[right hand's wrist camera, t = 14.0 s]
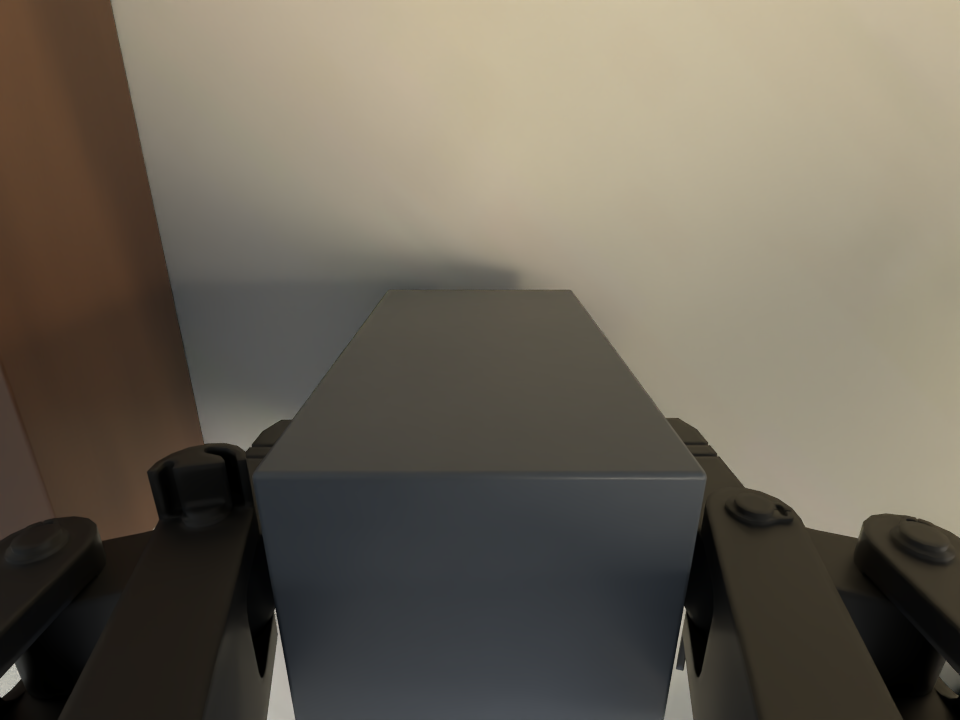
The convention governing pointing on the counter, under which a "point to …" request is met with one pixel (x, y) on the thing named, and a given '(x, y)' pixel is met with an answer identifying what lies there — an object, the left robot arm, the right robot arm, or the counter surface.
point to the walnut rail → (80, 282)
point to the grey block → (479, 520)
